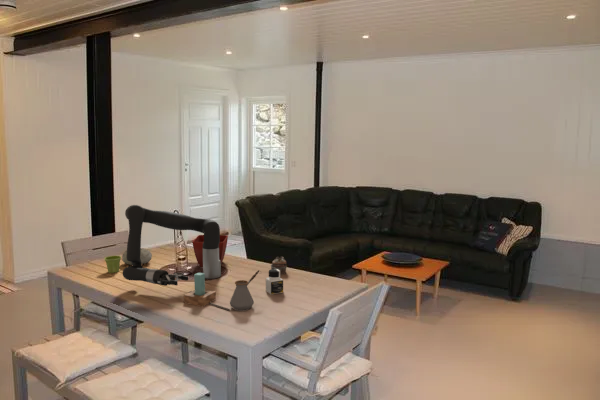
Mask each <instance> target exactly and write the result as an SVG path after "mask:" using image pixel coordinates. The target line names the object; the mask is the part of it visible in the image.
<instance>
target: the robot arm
mask: <svg viewBox="0 0 600 400" xmlns="http://www.w3.org/2000/svg"><path fill="white" fill-rule="evenodd" d="M124 214H125V217H126V219H127V220H128V238H127V243H126V244H127V245H126V250H127V261H130V262H131V263H132V265H130V266H126V267H124V269H123V270H122V276H123V278H124V279H125V280H127V281H134V282H135V281H136V282H137V281H139V282H140V281H141V282H145V283H146V282H147V283H151V284H154V285H160V286H163V287H164V286H165V287H167V286H178V281H181V280H182V281H189V276H187V275H185V274H184V273H181V272H173V273H169V272H168V271H167V270H165V269H159V268H149V267H143V264H142V263H141V259H140V254H141V248H142V228H143V224H144V223H145V224H152V225H154V226H158V227H162V228H166V229H170V230H175V231H195V232H199V233H202V234H203V235H204V242H203V267H202V273H205V279H207V280H208V279H209V280H211V279H217V278H220V277H221V276H222V267H221V266H222V263H221V261H220V260H219V243H220V235H221V228H220V225H219V224H218V222H217V221H215V220H213V219H211V218H199V217H193V216H190V215H187V214H183V213H179V212H175V211H174V212H173V211H166V210H155V209H150V208H145V207H142V206H141V205H138V204H131V205H129V206H128V207H127V208H126V210H125V212H124Z"/></svg>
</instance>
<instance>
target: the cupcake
mask: <svg viewBox="0 0 600 400" xmlns="http://www.w3.org/2000/svg"><path fill="white" fill-rule="evenodd" d="M287 267H288V264H287V260H286V259H285V258H284V256H280V257H279V256H276V257H275V258H274V260H272V263H271V264H270V270H271V269H278V270H280V276H283V275H285V274H286V271H287Z"/></svg>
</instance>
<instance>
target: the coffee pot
mask: <svg viewBox="0 0 600 400" xmlns="http://www.w3.org/2000/svg"><path fill="white" fill-rule="evenodd" d="M258 274H262V271H261V270H260V269H258V270H257V271H256V272H255V273H254V274H253V275H252V277H251V278H250V279H249V280H244V279H243V280H241V279H240V280H236V281H234V284H235V289H234V291H233V294H232V296H231V298H230V301H229V305H230V307H231V308H232V309H234V311H240V312H242V311H245V312H246V311H249V310H250V308H252V306H253V305H254V303H255V302H254V298H253V297H252V295H251V292H250V289H249V288H248V285H249V284H250V283H251V282H252V281H253V280H254V279H255V278H256V276H257V275H258Z"/></svg>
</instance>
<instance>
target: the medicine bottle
mask: <svg viewBox="0 0 600 400" xmlns="http://www.w3.org/2000/svg"><path fill="white" fill-rule="evenodd" d="M265 292H267V293H268V294H269V295H276V294H283V293H284V279H283V278H281V275H280V270H278V269H271V268H270V269H269V270H268V277H266V278H265Z"/></svg>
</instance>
